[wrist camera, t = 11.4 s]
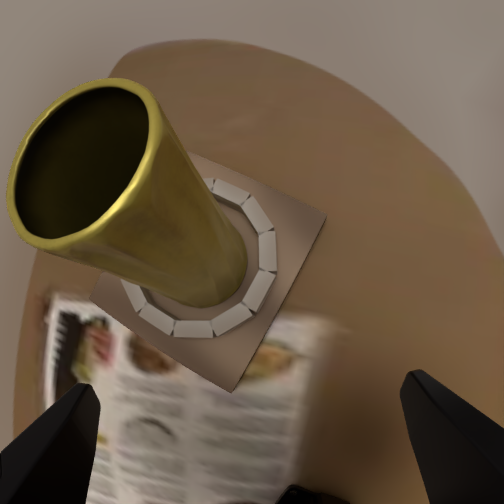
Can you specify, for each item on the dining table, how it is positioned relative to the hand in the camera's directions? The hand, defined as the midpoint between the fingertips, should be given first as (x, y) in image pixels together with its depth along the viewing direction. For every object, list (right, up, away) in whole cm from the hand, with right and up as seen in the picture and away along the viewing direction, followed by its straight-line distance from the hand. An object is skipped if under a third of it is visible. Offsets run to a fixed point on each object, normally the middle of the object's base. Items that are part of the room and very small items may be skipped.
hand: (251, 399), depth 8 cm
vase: (-3, +3, +13) cm, 14 cm away
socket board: (-3, +3, +14) cm, 15 cm away
